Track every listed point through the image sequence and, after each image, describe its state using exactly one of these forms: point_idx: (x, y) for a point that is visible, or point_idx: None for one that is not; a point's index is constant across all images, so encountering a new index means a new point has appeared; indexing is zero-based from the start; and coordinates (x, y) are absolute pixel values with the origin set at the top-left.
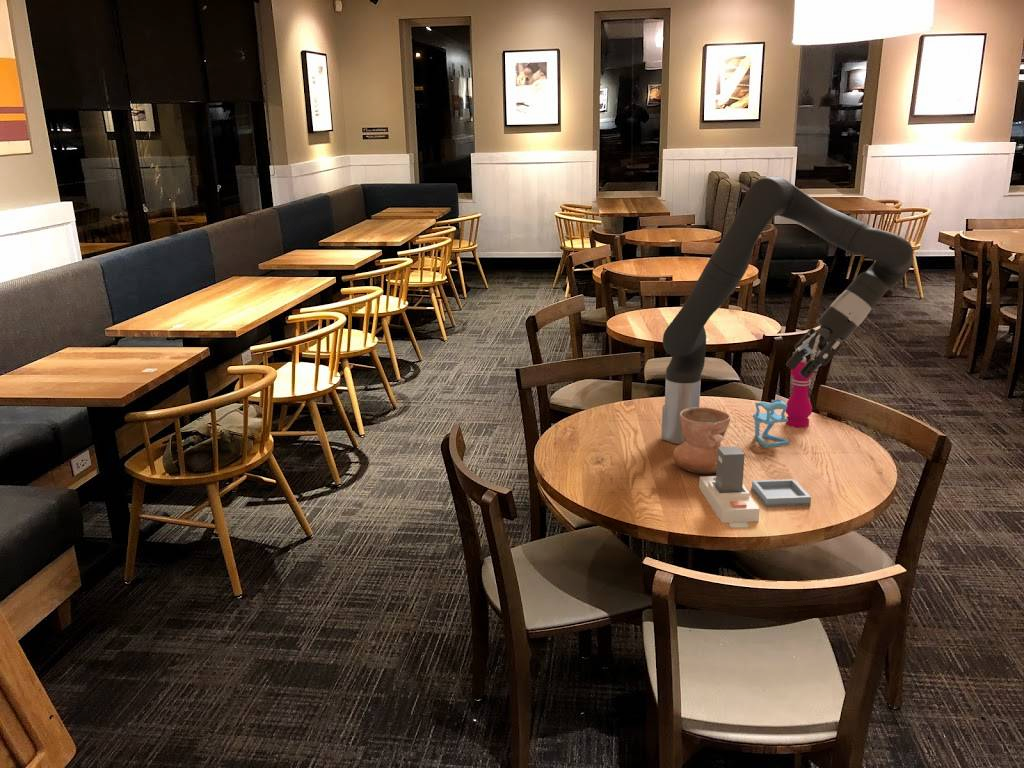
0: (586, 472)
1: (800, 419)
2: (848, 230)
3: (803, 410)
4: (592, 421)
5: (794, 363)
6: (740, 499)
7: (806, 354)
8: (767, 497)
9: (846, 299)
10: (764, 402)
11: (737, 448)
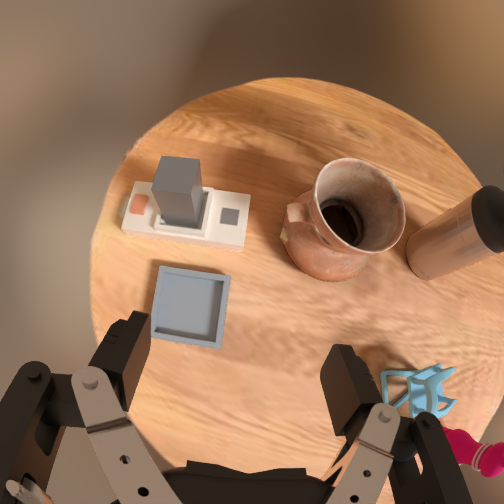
0: (321, 108)
1: None
2: None
3: None
4: (462, 178)
5: (331, 383)
6: (155, 216)
7: (338, 454)
8: (163, 268)
9: None
10: (443, 377)
11: (181, 188)
